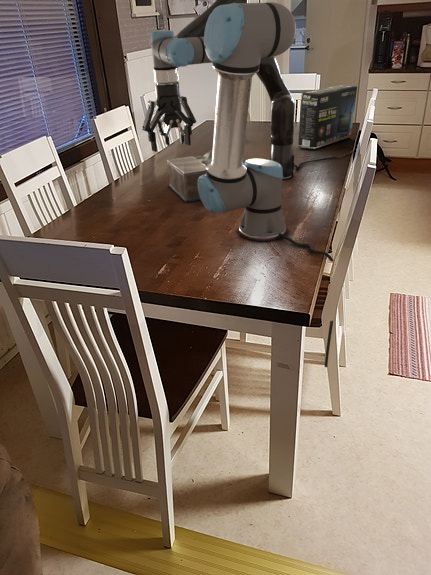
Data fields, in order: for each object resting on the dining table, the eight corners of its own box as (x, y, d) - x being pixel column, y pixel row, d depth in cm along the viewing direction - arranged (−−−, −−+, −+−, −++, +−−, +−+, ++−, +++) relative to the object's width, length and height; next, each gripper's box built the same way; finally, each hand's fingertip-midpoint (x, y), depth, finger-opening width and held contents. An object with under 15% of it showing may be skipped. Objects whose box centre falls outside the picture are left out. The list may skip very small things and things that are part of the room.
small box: (169, 186, 193) (166, 159, 187) (194, 182, 196) (192, 156, 191) (185, 202, 176) (183, 173, 170) (212, 197, 179) (211, 169, 174)
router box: (314, 151, 231) (318, 94, 217) (296, 148, 237) (299, 92, 224) (352, 138, 251) (358, 85, 238) (335, 135, 258) (340, 83, 245)
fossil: (221, 163, 205) (198, 141, 208) (209, 182, 212) (187, 161, 215) (241, 160, 219) (220, 139, 222) (229, 178, 225) (209, 158, 229)
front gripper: (192, 78, 161) (196, 140, 172) (127, 86, 150) (135, 151, 161) (203, 80, 156) (206, 143, 167) (136, 88, 145) (144, 155, 156)
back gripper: (185, 98, 187) (188, 140, 196) (151, 101, 183) (155, 144, 192) (191, 100, 181) (194, 144, 190) (156, 104, 177) (160, 148, 186)
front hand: (171, 147), depth 164 cm, fingers open, 13 cm apart
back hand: (174, 144), depth 191 cm, fingers open, 5 cm apart
